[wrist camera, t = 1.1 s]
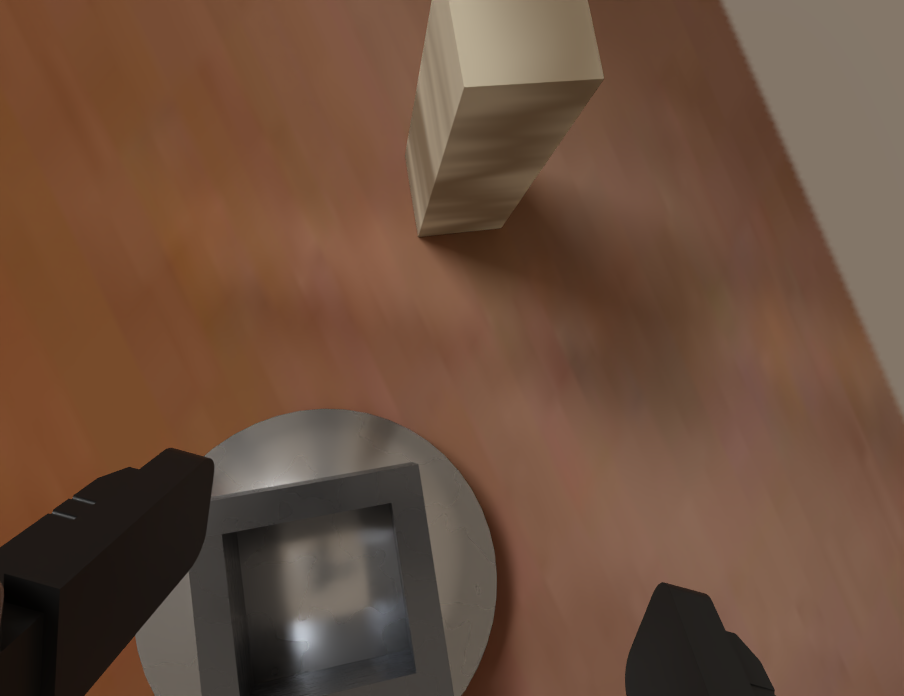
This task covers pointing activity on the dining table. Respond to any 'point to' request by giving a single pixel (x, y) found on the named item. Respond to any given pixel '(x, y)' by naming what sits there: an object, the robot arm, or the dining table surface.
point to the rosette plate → (329, 569)
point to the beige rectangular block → (494, 105)
